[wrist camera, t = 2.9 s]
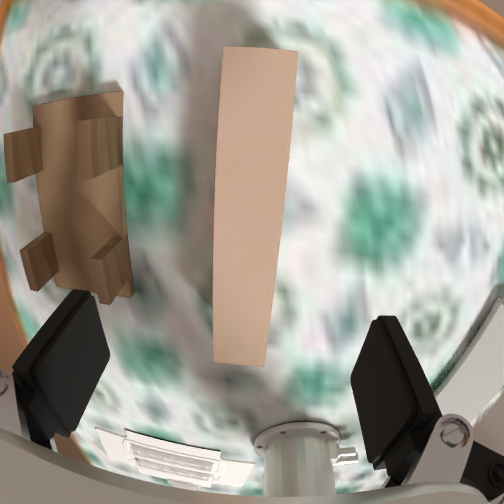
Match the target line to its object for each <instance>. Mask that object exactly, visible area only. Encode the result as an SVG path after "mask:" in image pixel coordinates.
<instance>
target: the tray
mask: <svg viewBox="0 0 504 504" xmlns="http://www.w3.org/2000/svg"><path fill="white" fill-rule="evenodd" d="M96 431H97V433H98V435H99V438H100V440H101V442H102V444H103V447H104V449H105V451H106V453H107V455H108V457H109V458H112V459H115V460H118V461H121V462H124V463H127V464H130V465H133V466H135V467H137V470H138V472H141V473H144V474H148V475H151V476H155V477H159V478H163V479H168V481H167V482H169V483H170V484H173V486H176V488H182V489H188V490H194V491H197V490H198V488H199V490H200V486H202V488H203V487H209V488H210V487H211V485H212V484H221V485H229V486H237V487H242V486H243V484H244V482H245V481H246V479H247V477H248V475H249V474H250V472H251V470H252V468H253V466H254V464H255V463H252V462H243V461H235V460H228V459H222V458H220V453H221V452H218V451H212V450H206V449H200V448H195V447H190V446H185V445H180V444H176V443H171V442H167V441H163V440H159V439H155V438H151V437H148V436H144V435H140V434H137V433H133V432H130V431H127V430H125V431H126V435H127V436H122V435H118V434H115V433H112V432H109V431H106V430H104V429H101V428H98V427H96ZM129 451H130V452H129ZM135 457H136V458H137V459H135ZM210 474H212V475H213V476H210ZM171 480H172V481H171ZM190 484H191V485H190ZM179 486H180V487H179Z"/></svg>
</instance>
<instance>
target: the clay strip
mask: <svg viewBox="0 0 504 504" xmlns="http://www.w3.org/2000/svg"><path fill="white" fill-rule="evenodd" d="M297 59H298V51H292V50H282V49H271V48H256V47H231V46H223V57H222V70H221V84H220V98H219V114H218V131H217V151H216V173H215V201H214V239H213V362H217V363H226V364H237V365H248V366H262V367H264V360H265V353H266V346H267V339H268V332H269V324H270V317H271V309H272V302H273V294H274V286H275V278H276V270H277V262H278V253H279V245H280V236H281V228H282V219H283V210H284V200H285V191H286V182H287V172H288V162H289V152H290V141H291V131H292V120H293V108H294V97H295V85H296V72H297Z"/></svg>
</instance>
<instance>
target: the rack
mask: <svg viewBox="0 0 504 504" xmlns="http://www.w3.org/2000/svg"><path fill="white" fill-rule="evenodd" d="M122 129H123V92H118V91H117V92H109V93H101V94H94V95H88V96H81V97H75V98H70V99H64V100H59V101H54V102H50V103H45V104H41V105H36V106H33V128H30V129H25V130H20V131H16V132H12V133H7V134H4V152H5V165H6V175H7V183H12V182H17V181H19V180H21V179H24V178H26V177H28V176H31V175H33V174H36V178H37V187H38V195H39V203H40V210H41V216H42V222H43V228H44V233H43V234H41V235H40V236H39V237H37V238H36V239H34V240H33V241H32V242H30V243H29V244H28V245H26V246H25V247H24V248H22V249H21V250H20V254H21V258H22V262H23V266H24V269H25V273H26V277H27V280H28V283H29V287H30V290H33V291H37V292H38V291H39V290H40V289H41V288H42V287H43V286H44V285H45V284H46V283H47V282H48V281H49V280H50V279H51V278H52V277H53V276H54V278H55V282H56V286H58V287H64V288H69V289H80V290H86V291H89V292H94V293H97V294H98V298H99V303H102V304H108V305H110V304H111V303H112V301H113V300H114V298H115V297H116V296H121V297H128V298H131V297H132V296H133V294H134V292H135V291H134V284H133V277H132V270H131V262H130V254H129V245H128V235H127V224H126V212H125V198H124V179H123V141H122Z"/></svg>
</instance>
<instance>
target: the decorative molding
mask: <svg viewBox="0 0 504 504" xmlns="http://www.w3.org/2000/svg"><path fill="white" fill-rule="evenodd" d="M503 385H504V299H503V298H500V297H497V299H496V301H495V303H494V305H493V307H492V308H491V310H490V312H489V314H488V315H487V317H486V319H485V320H484V322H483V324H482V325H481V327H480V329H479V330H478V332H477V333H476V335H475V336H474V338H473V340H472V341H471V343H470V344H469V346H468V347H467V349H466V350H465V352H464V353H463V354H462V356H461V357H460V359H459V360H458V362H457V363H456V364H455V366H454V367H453V368H452V370H451V371H450V372H449V374H448V375H447V376H446V378H445V379H444V380H443V382H442V383H441V384H440V385H439V387H438V388H437V389H436V390H435V392H434V393H433V394H434V396H435V399H436V401H437V403H438V406H439V408H440V411H441V413H442V416H443V415H446V414H457V415H460V416H462V417H464V418H465V419H466V420H467V421H468V422H469V423H470V422H471V421H472V420H473V419H474V418H475V417H476V416H477V415H478V414H479V412H480V411H481V410H482V409H483V408H484V407H485V406H486V405H487V404H488V403H489V401H490V400H491V399H492V398H493V397H494V396H495V395H496V393H497V392H498V391H499V390H500V389H501V387H502V386H503Z"/></svg>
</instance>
